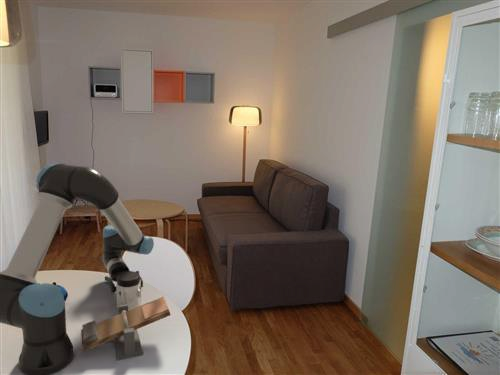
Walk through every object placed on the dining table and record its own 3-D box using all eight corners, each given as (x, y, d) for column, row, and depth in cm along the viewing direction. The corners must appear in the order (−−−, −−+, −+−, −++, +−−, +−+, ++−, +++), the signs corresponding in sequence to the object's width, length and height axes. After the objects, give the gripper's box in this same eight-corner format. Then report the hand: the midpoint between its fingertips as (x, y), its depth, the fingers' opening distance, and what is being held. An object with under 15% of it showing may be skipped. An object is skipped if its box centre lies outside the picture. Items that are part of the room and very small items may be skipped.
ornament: (59, 313, 150) (57, 289, 147) (38, 310, 151) (36, 286, 149) (73, 302, 158) (71, 278, 155) (52, 299, 159) (51, 275, 157)
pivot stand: (116, 360, 126) (115, 335, 124) (111, 328, 142) (110, 305, 140) (143, 355, 129) (142, 330, 127) (135, 323, 145) (134, 301, 143)
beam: (84, 354, 124) (79, 345, 123) (82, 331, 136) (79, 322, 135) (171, 317, 133) (168, 308, 132) (163, 298, 145) (160, 289, 143)
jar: (120, 313, 147) (119, 283, 144) (114, 303, 153) (113, 273, 150) (144, 307, 151) (144, 277, 149) (137, 297, 158) (137, 269, 155)
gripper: (139, 274, 171) (156, 300, 152) (96, 282, 163) (108, 310, 143) (139, 258, 169) (156, 281, 150) (95, 265, 161) (107, 290, 141)
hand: (133, 295), depth 147 cm, fingers closed on jar, 4 cm apart
